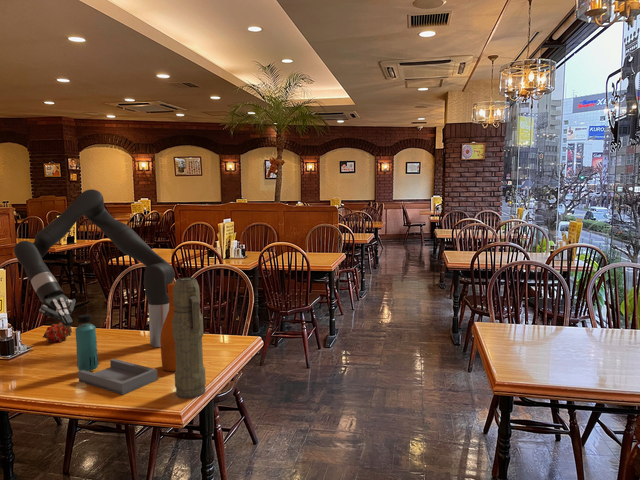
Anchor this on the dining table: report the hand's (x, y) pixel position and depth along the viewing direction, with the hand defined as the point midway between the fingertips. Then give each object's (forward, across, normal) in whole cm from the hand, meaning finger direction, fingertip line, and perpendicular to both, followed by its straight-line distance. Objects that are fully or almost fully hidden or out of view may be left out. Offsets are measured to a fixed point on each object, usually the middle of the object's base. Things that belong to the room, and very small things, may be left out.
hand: (69, 324), depth 158 cm
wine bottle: (+35, -17, +13) cm, 41 cm away
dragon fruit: (-13, -16, -37) cm, 42 cm away
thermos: (+49, -4, +28) cm, 56 cm away
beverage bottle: (+18, 0, -4) cm, 18 cm away
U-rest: (+29, 0, +8) cm, 30 cm away
